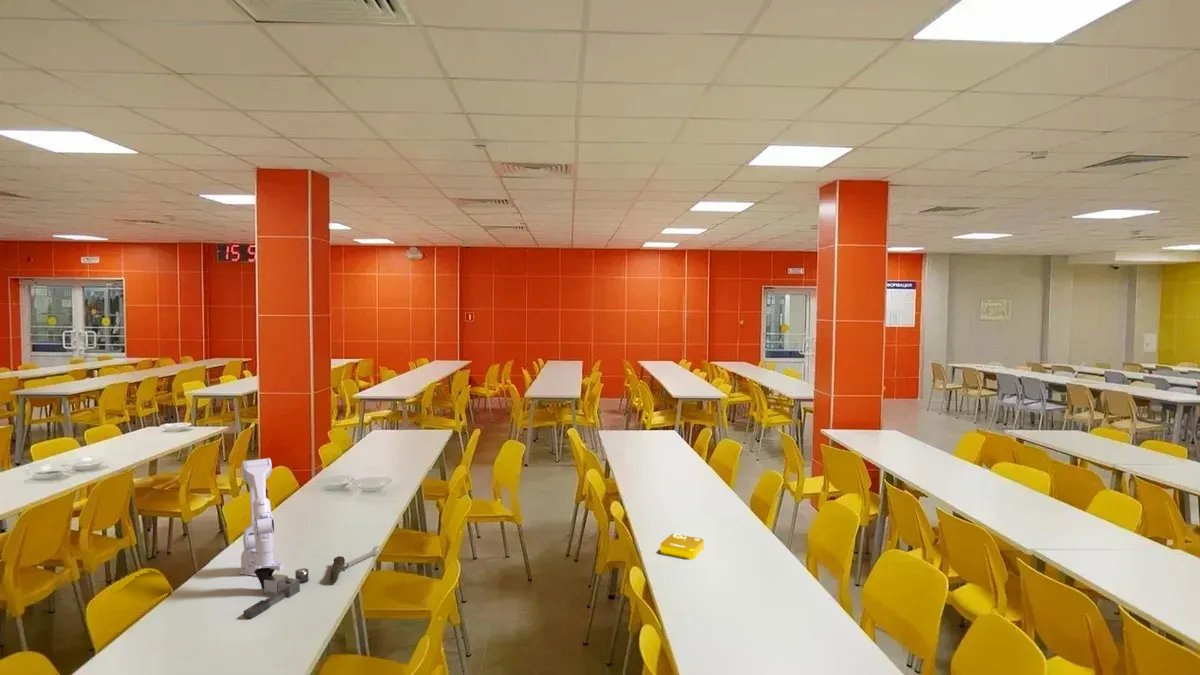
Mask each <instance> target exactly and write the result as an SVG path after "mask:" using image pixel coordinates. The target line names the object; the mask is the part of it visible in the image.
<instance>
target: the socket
mask: <svg viewBox="0 0 1200 675" xmlns="http://www.w3.org/2000/svg"><path fill="white" fill-rule="evenodd" d="M294 579H300V584H303V585H304V584H305V583H308V582H309V569H308V568H299V569H296V570H295V577H294Z"/></svg>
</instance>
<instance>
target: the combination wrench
mask: <svg viewBox="0 0 1200 675" xmlns="http://www.w3.org/2000/svg"><path fill="white" fill-rule="evenodd" d="M378 548H380V545H376V546H374V547H373V548H372V550H371V551H369V552H367V553H365V554H363V555H361V556H359V557H356V558H354V559H352V560H350V561H348V562H345V563H344V564H343V566H342V568H341V570H343V571H347V570H348V569H349V568H350V567H351V566H353V565H355V564H357V563H359V562H361V561H363V560H365V559H367V558H369V557H371V556H377V555H379V554H380V552H381V550H380V549H379V550H377V549H378ZM345 566H346V567H345Z"/></svg>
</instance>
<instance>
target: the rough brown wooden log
mask: <svg viewBox="0 0 1200 675" xmlns="http://www.w3.org/2000/svg"><path fill="white" fill-rule="evenodd" d="M344 563H346V559H345V557H344V556H341V555H340V556H339V555H338V556H336V557H334V558H333V563H332V567H331V569H330V575H329V578H330V583H331V585H335V583H336V582H338V581H337V580H339V576H340V573H341V570H342V566H343V564H344Z"/></svg>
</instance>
